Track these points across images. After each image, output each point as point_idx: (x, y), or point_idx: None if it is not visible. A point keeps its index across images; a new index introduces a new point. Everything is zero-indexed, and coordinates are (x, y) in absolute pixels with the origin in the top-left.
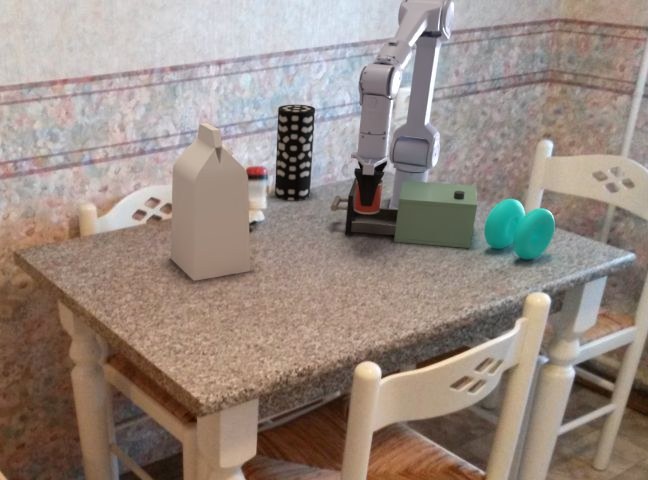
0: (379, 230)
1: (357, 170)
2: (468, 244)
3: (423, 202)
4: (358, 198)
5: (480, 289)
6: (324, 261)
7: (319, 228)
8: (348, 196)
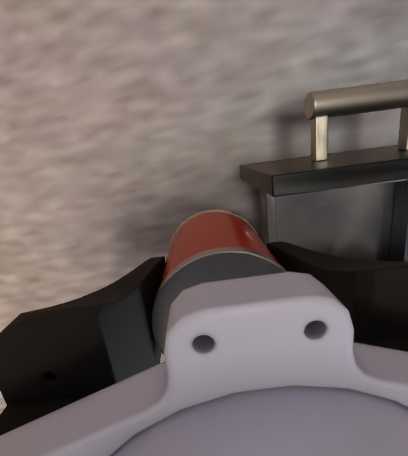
0: None
1: (30, 349)
2: None
3: None
4: (173, 248)
5: None
6: (47, 158)
7: (290, 72)
8: (271, 175)
